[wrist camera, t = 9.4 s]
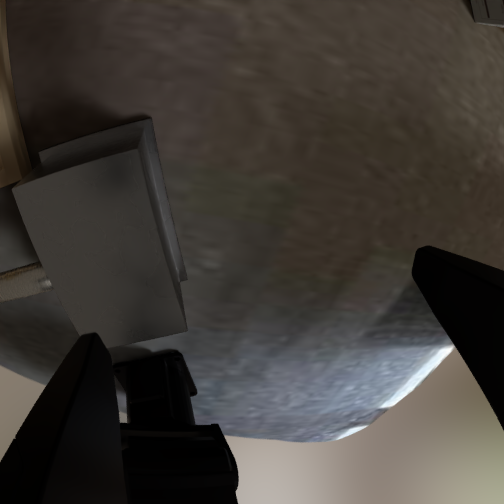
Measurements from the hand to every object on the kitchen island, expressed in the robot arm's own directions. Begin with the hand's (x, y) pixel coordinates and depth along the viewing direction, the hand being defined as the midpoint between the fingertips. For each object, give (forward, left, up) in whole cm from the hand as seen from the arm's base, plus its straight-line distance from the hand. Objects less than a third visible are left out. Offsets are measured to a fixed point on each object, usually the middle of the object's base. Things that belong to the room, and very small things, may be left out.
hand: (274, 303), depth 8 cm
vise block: (-2, +10, -13) cm, 16 cm away
